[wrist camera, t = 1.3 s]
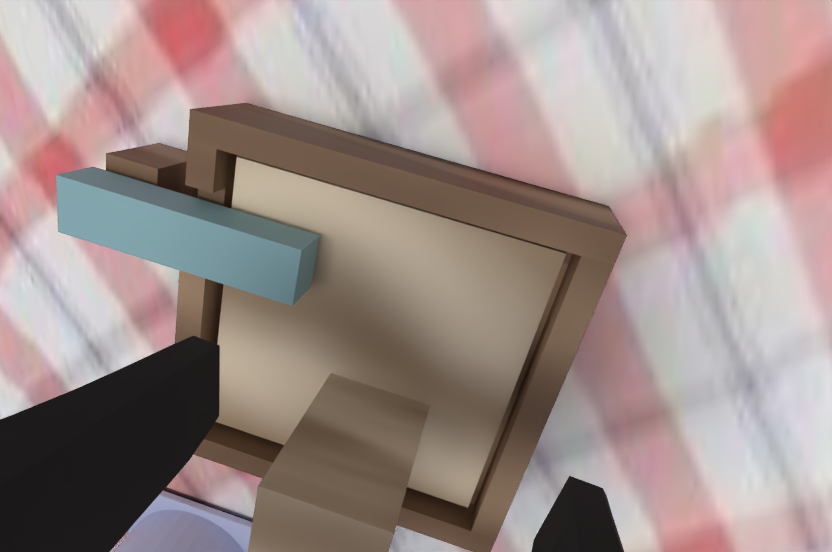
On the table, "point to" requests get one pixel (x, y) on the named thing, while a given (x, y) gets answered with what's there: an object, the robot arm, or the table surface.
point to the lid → (374, 359)
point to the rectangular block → (187, 233)
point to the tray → (425, 189)
